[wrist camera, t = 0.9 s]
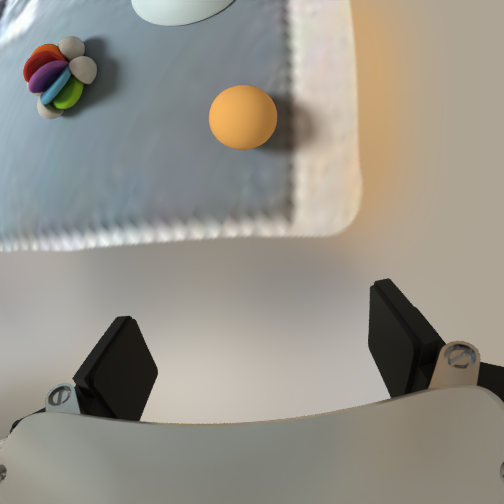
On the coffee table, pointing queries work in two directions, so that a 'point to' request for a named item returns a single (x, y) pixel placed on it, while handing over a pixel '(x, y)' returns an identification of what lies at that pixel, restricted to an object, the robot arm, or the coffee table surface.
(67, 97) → the multicolored petal flower toy
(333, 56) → the coffee table surface
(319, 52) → the coffee table surface
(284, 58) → the coffee table surface
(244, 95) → the ball
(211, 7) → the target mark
